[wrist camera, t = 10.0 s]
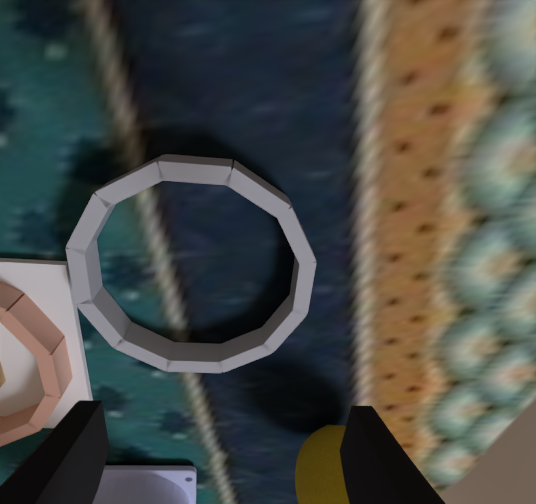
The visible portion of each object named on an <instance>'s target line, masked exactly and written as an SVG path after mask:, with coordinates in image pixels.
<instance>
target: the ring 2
mask: <svg viewBox="0 0 536 504" xmlns="http://www.w3.org/2000/svg"><path fill="white" fill-rule="evenodd" d="M232 160H233V159H222V158H210V157H197V156H185V155H173V154H165V155H161V156H159V157H157V158H155V159H153V160H151V161H149V162H147V163H145V164H143V165H141V166H139V167H137V168H135V169H133V170H131V171H129V172H127V173H125V174H123V175H121V176H119V177H117V178H115V179H113V180H111V181H109V182H107V183H106V184H105V185H103V186H102V187H101V188H99V189H98V190H97V191H96V192H95V193H93V195H92V197H91V199H90V201H89V203H88V205H87V207H86V209H85V210H84V212H83V214H82V216H81V218H80V220H79V222H78V224H77V226H76V228H75V230H74V232H73V234H72V236H71V238H70V239H69V241H68V243H67V245H66V247H67V248H66V254H67V260H68V266H69V272H70V277H71V283H72V289H73V295H74V301H75V304H76V306H77V307H78V308H79V309H80V311H81V312H82V313H83V314H84V315H85V316H86V317H87V319H88V320H89V321H90V322H91V323H92V324H93V326H94V327H95V328H96V329H97V330H98V331H99V332H100V334H101V335H102V336H103V337H104V338H105V339H106V340H107V342H108V343H109V344H110V345H111V346H112V347H115V348H114V349H116V350H119V351H121V352H123V353H125V354H128V355H130V356H132V357H134V358H137V359H139V360H141V361H143V362H146V363H148V364H150V365H152V366H155V367H157V368H159V369H161V370H164V371H166V369H167V372H201V373H222V372H223V373H224V372H227V371H229V370H232V369H234V368H237V367H239V366H242V365H244V364H247V363H249V362H252V361H255V360H257V359H260V358H262V357H265V356H267V355H270V354H272V352H273V353H274V351H275V350H276V349H277V348H278V347H279V346H280V345H281V344H282V342H283V341H284V340H285V339H286V338H287V337H288V336H289V335H290V334H291V332H292V331H293V330H294V329H295V328H296V327H297V326H298V325H299V323H300V322H301V321H302V320H303V319H304V318H305V317H306V316H307V314H308V309H309V303H310V297H311V291H312V285H313V280H314V274H315V268H316V259H315V257H314V254H313V251H312V249H311V246H310V244H309V242H308V240H307V237H306V235H305V233H304V231H303V229H302V226H301V224H300V222H299V220H298V218H297V215H296V213H295V211H294V209H293V207H292V204H291V202H290V200H289V198H288V197H287V195H285V194H284V193H282V192H281V191H279V190H278V189H276V188H275V187H273V186H272V185H270V184H269V183H268V182H266V181H265V180H263V179H262V178H260V177H259V176H257V175H256V174H254V173H253V172H251V171H250V170H248V169H247V168H246V167H244V166H243V165H241V164H240V163H238V162H237V161H235V160H234V162H233V164H232ZM163 180H164V181H177V182H190V183H204V184H217V185H227V186H229V187H230V188H232V189H233V190H235V191H236V192H238V193H239V194H241V195H243V196H244V197H246V198H247V199H249V200H250V201H252V202H253V203H255V204H256V205H258V206H259V207H261V208H262V209H264V210H266V211H267V212H269V213H270V214H272V215H273V216H275V217H276V218H277V219H278V221H279V223H280V225H281V227H282V229H283V231H284V233H285V235H286V238H287V240H288V242H289V244H290V246H291V248H292V250H293V252H294V254H295V260H294V267H293V274H292V281H291V288H290V295H289V296H288V297H287V298H286V299H285V301H284V302H283V303H282V304H281V305H280V306H279V308H278V309H277V310H276V311H275V312H274V314H273V315H272V316H271V317H270V318H269V319H268V321H267V322H266V323H265V324H264V325H263V327H261V328H259V329H256V330H254V331H251V332H249V333H246V334H244V335H241V336H239V337H237V338H234V339H232V340H229V341H227V342H224V343H222V344H211V343H182V342H173V341H171V340H169V339H167V338H165V337H162V336H160V335H158V334H156V333H154V332H152V331H150V330H148V329H146V328H143V327H141V326H139V325H137V324H135V323H133V322H131V320H130V319H129V318H128V317H127V315H126V314H125V313H124V312H123V310H122V309H121V308H120V307H119V305H118V304H117V303H116V302H115V300H114V299H113V298H112V297H111V295H110V294H109V293H108V292H107V290H106V289H105V288H104V287H103V285H102V278H101V270H100V262H99V254H98V247H97V238H98V236H99V234H100V232H101V230H102V229H103V227H104V225H105V223H106V221H107V219H108V218H109V216H110V214H111V212H112V210H113V209H114V207H115V205H116V203H118V202H120V201H122V200H124V199H126V198H128V197H130V196H132V195H134V194H136V193H138V192H140V191H142V190H145V189H147V188H149V187H151V186H153V185H155V184H157V183H159V182H161V181H163Z"/></svg>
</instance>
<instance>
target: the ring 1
mask: <svg viewBox="0 0 536 504" xmlns="http://www.w3.org/2000/svg"><path fill="white" fill-rule="evenodd" d="M23 293H24V292H22V291H20V290H18V289H15V288H13V287H11V286H9V285H7V284H4V283H2V282H0V323H1V324H3V325H4V326H5V327H6V328H7V329H8V330H9V331H10V332H11V333H12V334H13V335H14V336H15V337H16V338H17V339H18V340H19V341H20V342H21V343H22V344H23V345H24V346H25V347H26V348H27V349H28V350H29V351H30V352H31V353H32V354H33V355H34V356H35V357H36V360H37V364H38V368H39V372H40V376H41V380H42V384H43V388H44V392H45V396H44V398H43V399H42V401H41V402H40V403H38V404H35V405H33V406H30V407H28V408H26V409H23V410H21V411H18V412H16V413H13V414H11V415H9V416H6V417H2V416H0V447H1V446H3V445H6V444H8V443H11V442H13V441H16V440H18V439H21V438H23V437H26V436H28V435H31V434H33V433H36V432H38V431H40V430H41V429H42V428H43V426H44V424H45V423H46V421H47V420H48V418H49V417H50V415H51V413H52V412H53V410H54V409H55V407H56V405H57V404H58V402H59V401H60V399H61V397H62V396H63V394H64V392H65V390H66V389H67V387H68V385H69V383H70V382H71V380H72V377H73V375H72V370H71V365H70V359H69V354H68V349H67V344H66V339H65V336H64V334H63V333H62V332H61V331H60V330H59V329H58V328H57V327H56V326H55V324H54V323H53V322H52V321H51V320H50V319H49V318H48V317H47V316H46V315H45V314H44V313H43V312H42V311H41V309H40V308H39V307H38V306H37V305H36V304H35V303H34V302H33V301H32V300H31V299H30V298H29V297H28V296H27V294H24V295H23Z"/></svg>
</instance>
